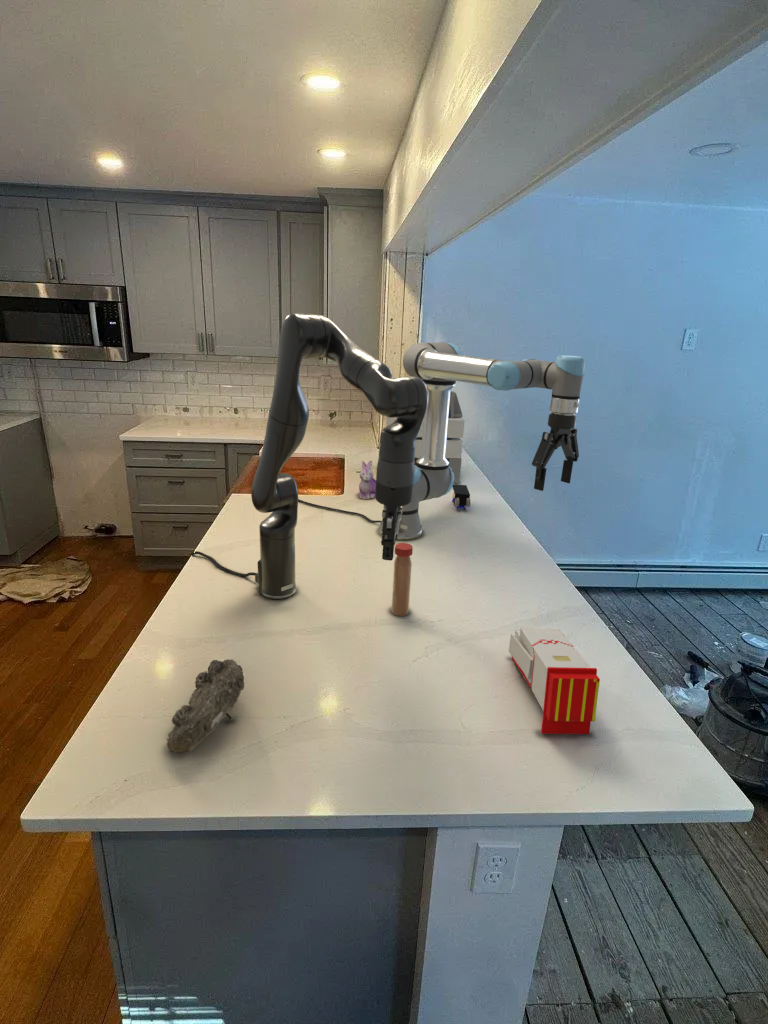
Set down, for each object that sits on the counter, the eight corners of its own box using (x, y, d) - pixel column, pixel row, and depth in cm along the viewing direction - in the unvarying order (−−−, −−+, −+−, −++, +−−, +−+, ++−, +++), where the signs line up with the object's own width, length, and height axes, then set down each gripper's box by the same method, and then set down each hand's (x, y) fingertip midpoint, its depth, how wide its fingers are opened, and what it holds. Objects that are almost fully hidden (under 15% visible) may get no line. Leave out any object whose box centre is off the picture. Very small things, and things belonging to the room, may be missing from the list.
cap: (413, 551, 145) (413, 543, 144) (411, 558, 141) (411, 550, 140) (396, 549, 146) (396, 541, 145) (393, 556, 141) (393, 548, 141)
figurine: (363, 500, 232) (364, 465, 227) (352, 493, 240) (353, 459, 235) (383, 498, 236) (385, 463, 231) (372, 491, 244) (373, 457, 239)
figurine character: (470, 515, 225) (465, 499, 238) (472, 498, 221) (467, 483, 235) (453, 515, 224) (449, 499, 238) (455, 497, 221) (451, 482, 234)
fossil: (192, 660, 117) (244, 628, 112) (224, 691, 120) (276, 661, 115) (142, 746, 98) (202, 712, 93) (182, 779, 101) (242, 748, 96)
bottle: (409, 608, 151) (413, 545, 144) (407, 616, 146) (411, 552, 140) (392, 606, 151) (396, 543, 145) (390, 614, 147) (393, 550, 141)
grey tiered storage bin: (382, 463, 289) (386, 382, 275) (445, 464, 293) (451, 384, 279) (390, 482, 257) (394, 392, 243) (460, 483, 261) (468, 394, 247)
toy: (555, 612, 132) (609, 675, 103) (550, 665, 135) (600, 741, 106) (504, 611, 132) (543, 673, 102) (499, 664, 134) (536, 740, 105)
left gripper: (380, 464, 120) (376, 532, 127) (371, 490, 107) (367, 564, 114) (415, 467, 119) (409, 535, 126) (411, 494, 106) (404, 568, 113)
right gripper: (548, 419, 148) (537, 496, 155) (598, 411, 163) (586, 482, 171) (525, 414, 153) (515, 489, 160) (575, 407, 169) (564, 476, 176)
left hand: (389, 549), depth 120 cm, fingers open, 8 cm apart
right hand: (552, 485), depth 166 cm, fingers open, 13 cm apart
